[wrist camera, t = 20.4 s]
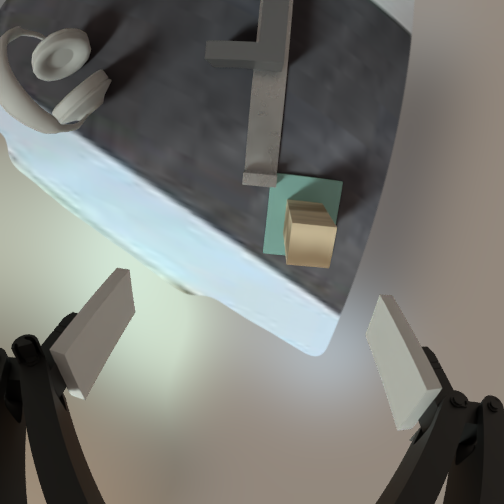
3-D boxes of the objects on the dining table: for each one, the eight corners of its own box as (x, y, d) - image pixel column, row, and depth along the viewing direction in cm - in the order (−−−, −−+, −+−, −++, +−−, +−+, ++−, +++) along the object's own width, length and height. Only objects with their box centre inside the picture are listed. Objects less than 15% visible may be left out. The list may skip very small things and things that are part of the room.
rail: (265, -40, 26) (264, -48, 24) (295, -38, 26) (297, -45, 24) (243, 180, 41) (242, 184, 39) (275, 183, 41) (275, 187, 38)
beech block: (286, 199, 41) (292, 222, 32) (322, 203, 41) (337, 227, 32) (283, 232, 43) (286, 264, 34) (316, 236, 43) (329, 267, 34)
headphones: (135, 107, 37) (46, 108, 19) (91, 141, 39) (-2, 166, 21) (91, 22, 30) (7, -6, 12) (52, 58, 32) (-36, 51, 14)
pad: (271, 172, 40) (271, 172, 40) (341, 181, 40) (342, 182, 39) (263, 251, 45) (263, 253, 45) (327, 257, 45) (328, 259, 44)
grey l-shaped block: (225, -27, 27) (219, -45, 22) (289, -23, 27) (292, -42, 22) (213, 67, 34) (204, 58, 28) (281, 71, 34) (284, 63, 28)
